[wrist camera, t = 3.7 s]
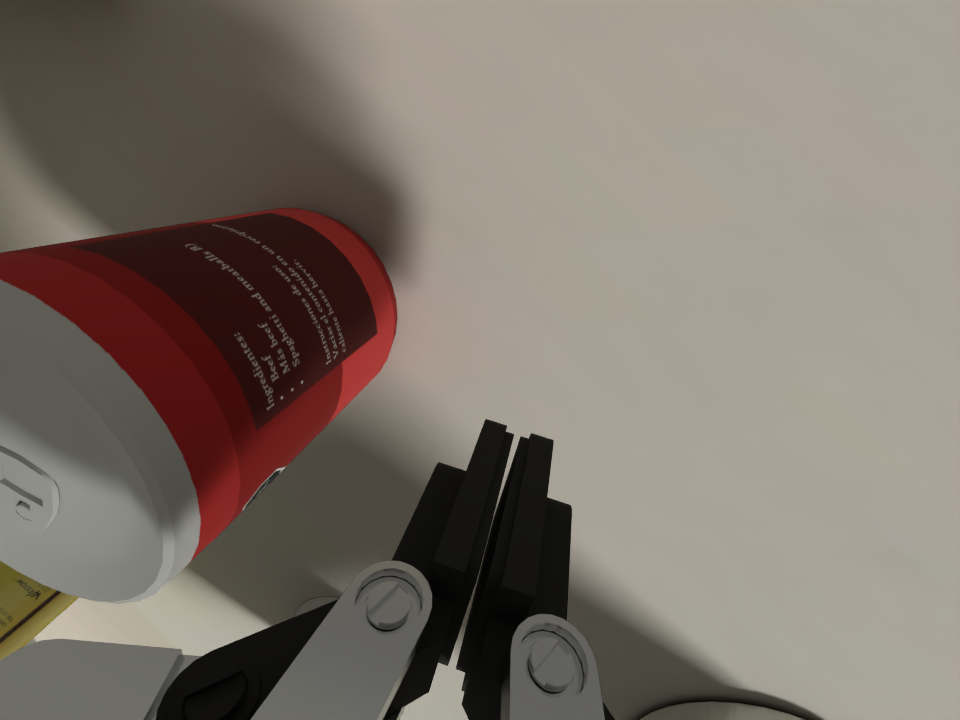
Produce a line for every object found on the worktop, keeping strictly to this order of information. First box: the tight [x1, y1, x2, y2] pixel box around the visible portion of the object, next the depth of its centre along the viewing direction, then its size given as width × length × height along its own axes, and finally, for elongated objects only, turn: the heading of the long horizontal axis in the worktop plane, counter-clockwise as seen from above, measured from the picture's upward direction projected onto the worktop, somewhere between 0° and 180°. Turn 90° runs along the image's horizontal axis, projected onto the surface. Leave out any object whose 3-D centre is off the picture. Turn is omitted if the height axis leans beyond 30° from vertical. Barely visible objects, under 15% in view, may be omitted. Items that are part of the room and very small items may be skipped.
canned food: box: [0, 208, 397, 604], centre depth 13 cm, size 8×8×11 cm
